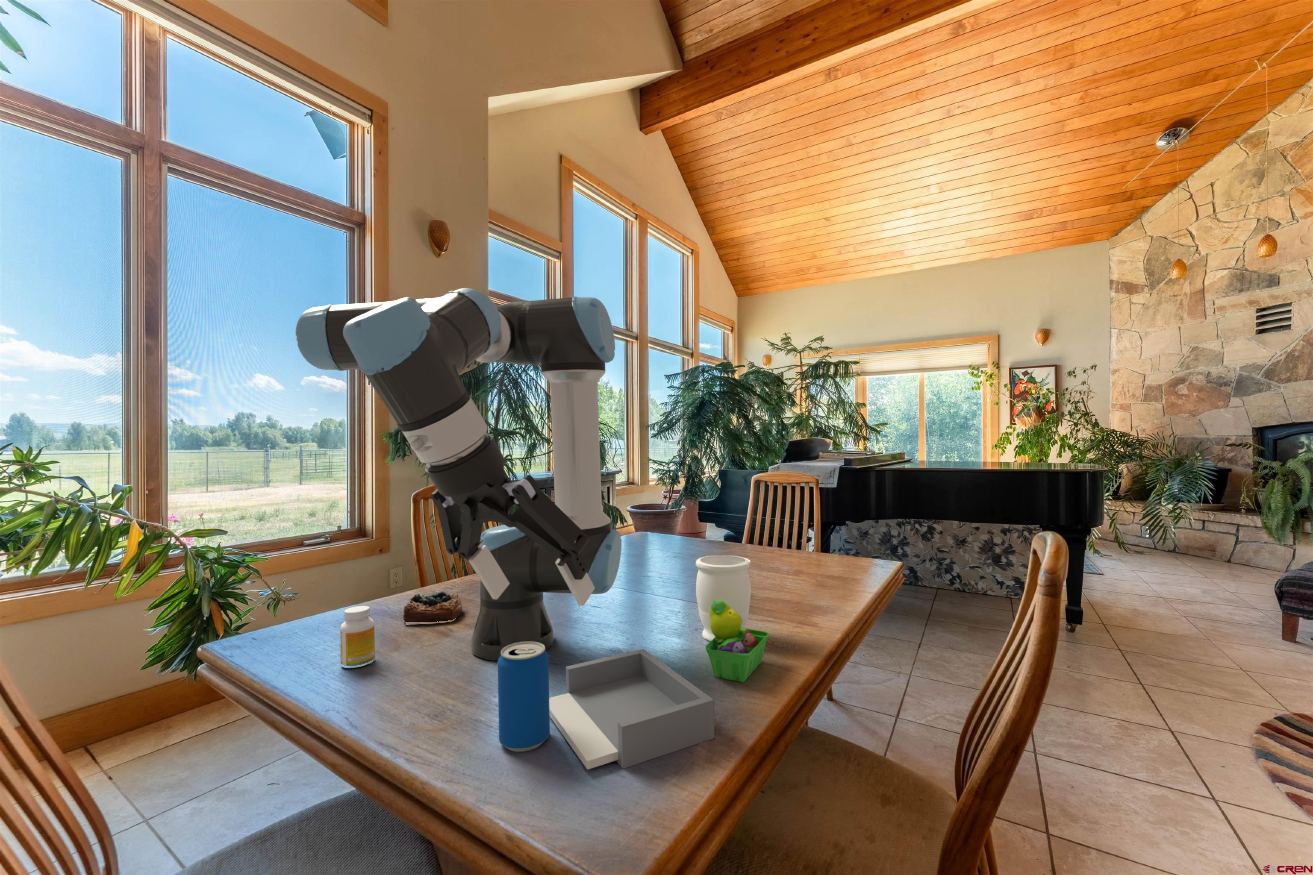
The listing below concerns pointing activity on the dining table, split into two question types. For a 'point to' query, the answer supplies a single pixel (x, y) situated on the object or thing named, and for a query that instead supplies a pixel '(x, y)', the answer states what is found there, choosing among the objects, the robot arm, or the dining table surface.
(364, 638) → the supplement bottle
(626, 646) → the dining table surface
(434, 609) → the pastry
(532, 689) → the beverage can
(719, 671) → the fruit basket
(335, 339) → the robot arm
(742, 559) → the jar
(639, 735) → the tray
